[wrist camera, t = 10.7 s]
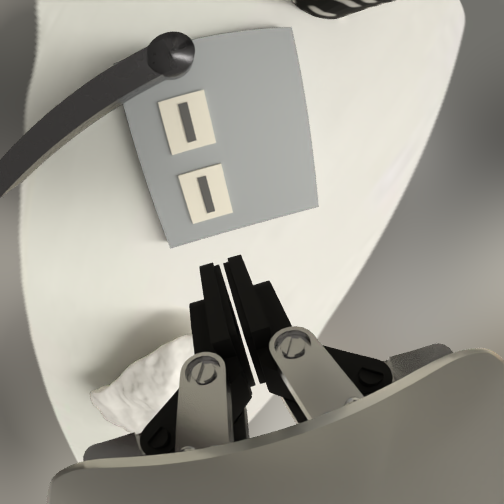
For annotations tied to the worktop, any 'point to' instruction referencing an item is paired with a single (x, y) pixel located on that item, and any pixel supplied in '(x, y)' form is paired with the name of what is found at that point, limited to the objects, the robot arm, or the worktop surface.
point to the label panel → (227, 137)
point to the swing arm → (96, 103)
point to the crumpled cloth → (144, 386)
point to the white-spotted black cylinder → (336, 7)
